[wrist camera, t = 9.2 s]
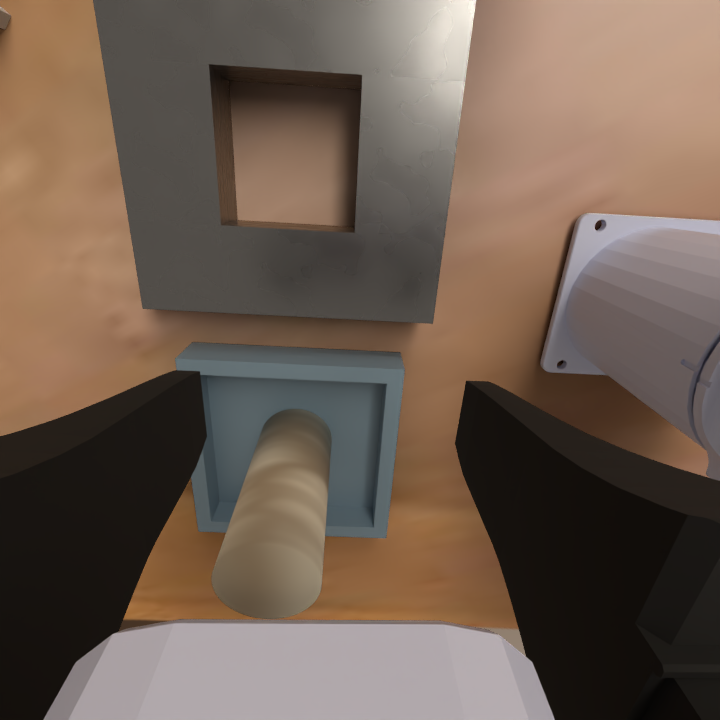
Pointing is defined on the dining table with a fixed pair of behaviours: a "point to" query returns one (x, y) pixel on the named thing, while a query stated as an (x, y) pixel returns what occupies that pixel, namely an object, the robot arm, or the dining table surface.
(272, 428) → the birch peg
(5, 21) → the pliers
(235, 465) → the slate tray
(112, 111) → the hitch block
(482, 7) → the dining table surface
